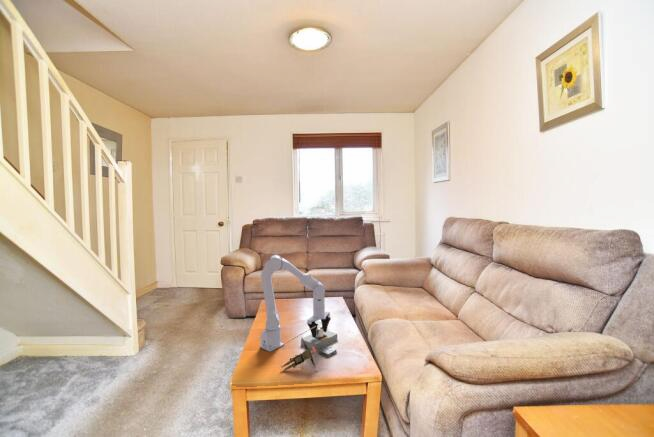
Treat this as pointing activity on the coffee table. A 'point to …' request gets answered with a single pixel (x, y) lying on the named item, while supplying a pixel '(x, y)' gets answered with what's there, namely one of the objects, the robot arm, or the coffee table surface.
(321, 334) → the metal peg
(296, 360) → the samurai figurine
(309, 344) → the hole board
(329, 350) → the gray square base plate
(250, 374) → the coffee table surface
